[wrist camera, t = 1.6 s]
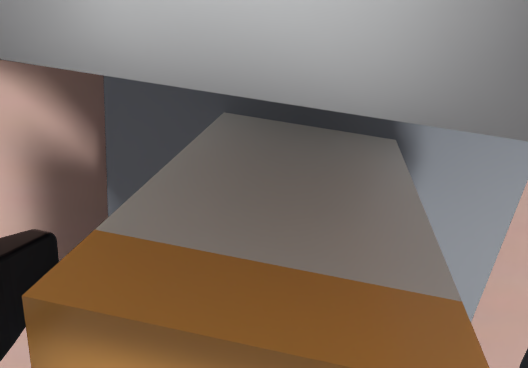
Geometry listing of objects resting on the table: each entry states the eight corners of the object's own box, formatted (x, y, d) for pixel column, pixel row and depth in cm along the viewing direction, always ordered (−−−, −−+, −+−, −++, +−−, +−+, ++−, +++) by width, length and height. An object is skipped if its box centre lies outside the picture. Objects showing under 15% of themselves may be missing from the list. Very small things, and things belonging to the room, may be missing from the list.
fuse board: (714, -416, 7) (806, -519, 6) (379, 498, 16) (382, 543, 15) (128, -429, 8) (84, -519, 7) (133, 437, 18) (116, 474, 16)
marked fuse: (395, 139, 10) (503, 399, 3) (351, 314, 12) (364, 686, 5) (224, 112, 10) (21, 296, 4) (209, 285, 12) (62, 597, 6)
